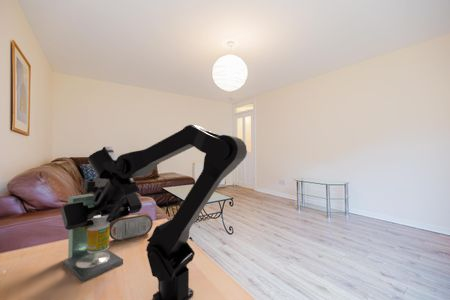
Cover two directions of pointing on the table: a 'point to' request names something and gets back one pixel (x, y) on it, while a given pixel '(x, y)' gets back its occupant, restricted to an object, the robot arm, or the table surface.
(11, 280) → the table surface
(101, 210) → the robot arm
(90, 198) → the stand
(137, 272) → the table surface
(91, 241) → the supplement bottle
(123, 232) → the tin
